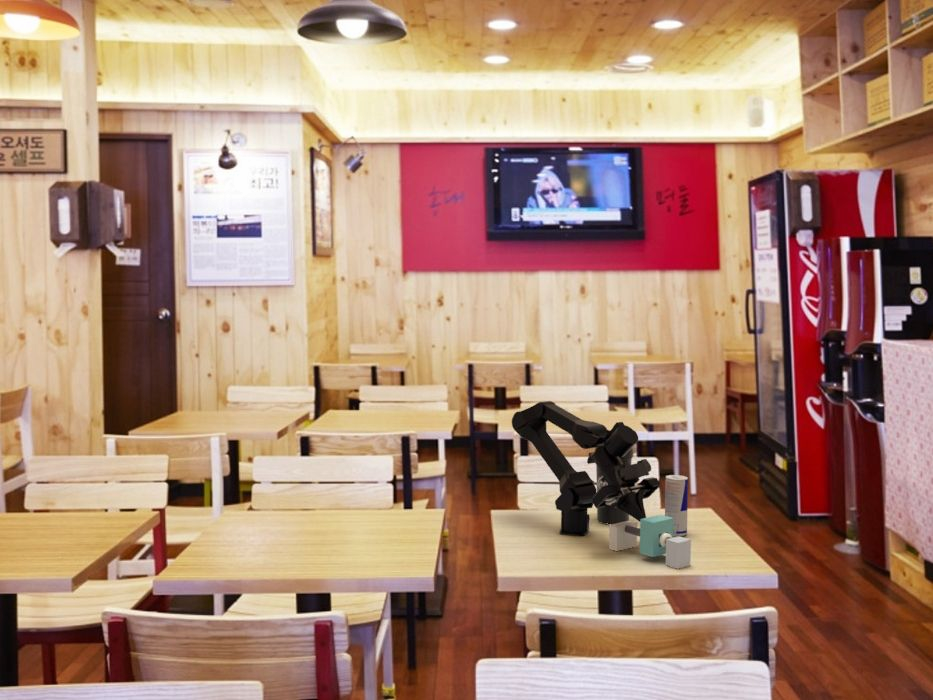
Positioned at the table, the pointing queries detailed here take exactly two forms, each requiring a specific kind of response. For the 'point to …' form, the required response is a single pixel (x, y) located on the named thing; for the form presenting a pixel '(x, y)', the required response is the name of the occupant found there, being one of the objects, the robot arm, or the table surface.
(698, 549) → the table surface
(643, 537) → the teal block with hole
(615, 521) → the water bottle
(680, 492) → the beverage can
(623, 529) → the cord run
